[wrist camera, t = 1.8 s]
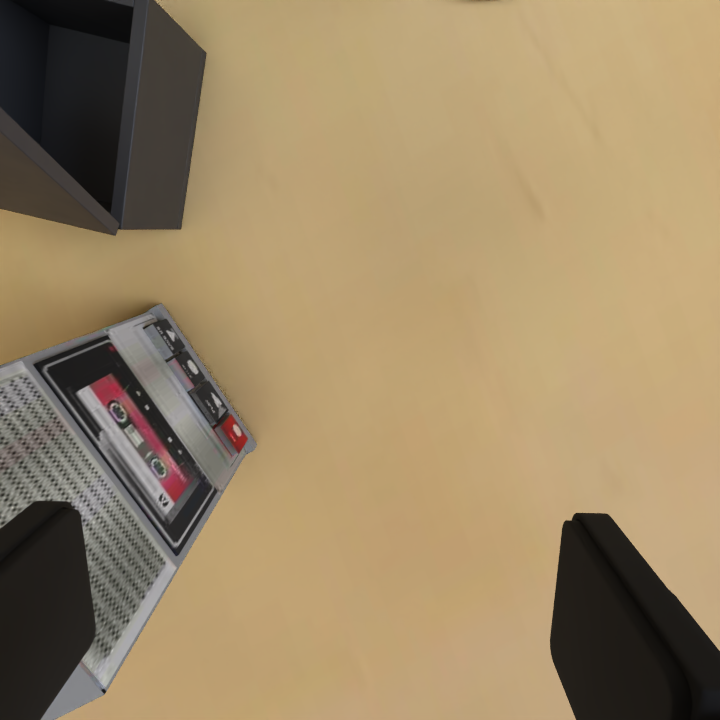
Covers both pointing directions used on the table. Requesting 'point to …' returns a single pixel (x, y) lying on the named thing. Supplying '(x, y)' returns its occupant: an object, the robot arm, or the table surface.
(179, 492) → the ribbed grey cuboid
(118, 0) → the open dark grey box
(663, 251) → the table surface
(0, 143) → the lid
